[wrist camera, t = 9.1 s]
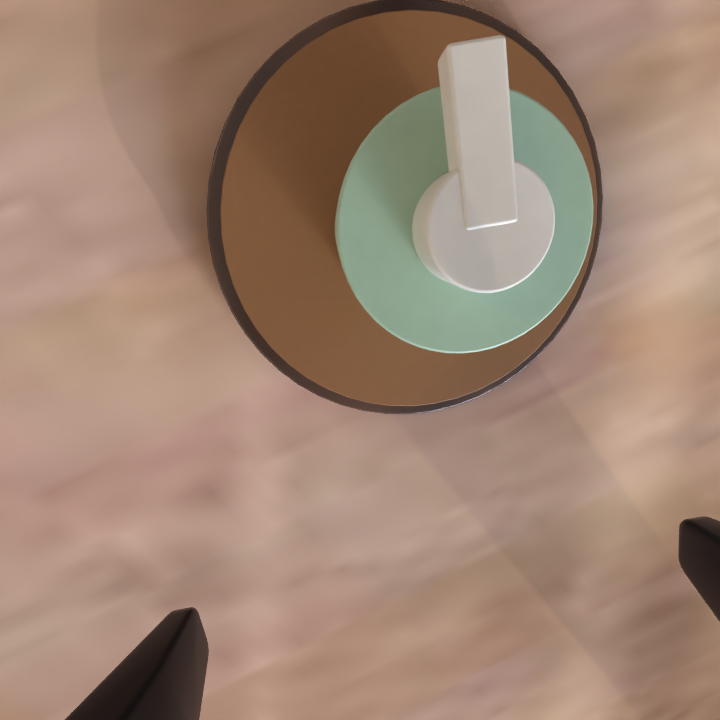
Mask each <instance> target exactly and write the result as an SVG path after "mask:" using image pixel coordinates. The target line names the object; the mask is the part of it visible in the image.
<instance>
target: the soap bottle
mask: <svg viewBox="0 0 720 720" xmlns="http://www.w3.org/2000/svg"><path fill="white" fill-rule="evenodd" d="M220 211H221V233H222V241H223V247H224V253H225V258H226V263H227V266H228V269H229V273H230V276H231V279H232V282H233V286H234V288H235V290H236V292H237V295H238V297H239V299H240V301H241V303H242V306H243V308H244V310H245V311H246V313H247V315H248V316H249V318H250V319H251V321H252V323H253V324H254V326H255V328H256V329H257V330H258V332H259V333H260V334H261V335H262V337H263V338H264V339H265V340H266V342H267V343H268V344H269V345H270V347H271V348H272V349H273V350H274V351H275V352H276V353H277V354H278V355H280V356H281V357H282V358H283V359H284V360H285V361H286V362H287V363H288V364H289V365H290V366H292V367H293V368H294V369H296V370H297V371H298V372H300V373H301V374H303V375H304V376H305V377H307V378H308V379H310V380H312V381H314V382H315V383H317V384H319V385H321V386H323V387H324V388H326V389H328V390H331V391H333V392H336V393H338V394H341V395H343V396H346V397H348V398H352V399H356V400H360V401H364V402H367V403H373V404H381V405H388V406H418V405H427V404H435V403H439V402H444V401H448V400H452V399H456V398H459V397H462V396H464V395H467V394H470V393H472V392H475V391H478V390H480V389H482V388H484V387H485V386H487V385H489V384H491V383H493V382H495V381H497V380H499V379H500V378H502V377H503V376H505V375H506V374H508V373H509V372H511V371H512V370H514V369H515V368H517V367H518V366H519V365H520V364H521V363H522V362H524V361H525V360H526V359H527V358H528V357H529V356H531V355H532V354H533V353H534V352H535V351H536V350H537V349H538V348H539V347H540V346H541V344H542V343H543V342H544V341H545V340H546V339H547V338H548V337H549V336H550V335H551V333H552V332H553V330H554V329H555V328H556V326H557V325H558V324H559V322H560V321H561V319H562V318H563V317H564V315H565V313H566V312H567V310H568V308H569V306H570V304H571V303H572V301H573V299H574V297H575V296H576V293H577V291H578V289H579V286H580V284H581V281H582V279H583V277H584V274H585V272H586V268H587V265H588V261H589V258H590V254H591V251H592V247H593V240H594V234H595V228H596V217H597V189H596V177H595V169H594V165H593V160H592V156H591V151H590V146H589V144H588V141H587V138H586V135H585V132H584V129H583V127H582V124H581V121H580V119H579V117H578V115H577V114H576V112H575V110H574V108H573V106H572V104H571V102H570V100H569V98H568V97H567V95H566V94H565V92H564V91H563V90H562V88H561V87H560V85H559V84H558V82H557V81H556V80H555V78H554V77H553V76H552V75H551V74H550V72H549V71H548V70H547V69H546V68H545V67H544V66H543V65H542V64H541V63H540V62H539V61H538V60H537V59H536V58H535V57H534V56H533V55H532V54H530V53H529V52H528V51H527V50H525V49H524V48H523V47H522V46H520V45H519V44H518V43H517V42H515V41H514V40H512V39H511V38H509V37H507V36H505V35H504V34H502V33H500V32H498V31H497V30H495V29H493V28H491V27H489V26H487V25H484V24H481V23H479V22H476V21H474V20H471V19H469V18H466V17H462V16H457V15H453V14H448V13H444V12H439V11H423V10H404V11H392V12H383V13H379V14H375V15H371V16H367V17H363V18H359V19H356V20H353V21H351V22H349V23H346V24H344V25H341V26H339V27H336V28H334V29H332V30H330V31H328V32H327V33H325V34H323V35H322V36H320V37H318V38H317V39H315V40H313V41H311V42H310V43H308V44H307V45H306V46H304V47H303V48H302V49H301V50H299V51H298V52H297V53H296V54H294V55H293V56H292V57H291V58H290V59H288V60H287V61H286V62H285V63H284V64H283V65H282V66H281V67H280V68H279V69H278V70H277V72H276V73H275V74H274V75H273V76H272V77H271V78H270V79H269V80H268V81H267V82H266V84H265V85H264V87H263V88H262V89H261V91H260V92H259V94H258V95H257V97H256V98H255V100H254V101H253V102H252V104H251V105H250V107H249V109H248V111H247V113H246V115H245V117H244V119H243V121H242V123H241V125H240V127H239V129H238V131H237V133H236V136H235V139H234V142H233V145H232V148H231V150H230V153H229V156H228V160H227V165H226V170H225V174H224V179H223V185H222V197H221V209H220Z"/></svg>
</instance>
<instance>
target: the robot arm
mask: <svg viewBox="0 0 720 720" xmlns="http://www.w3.org/2000/svg"><path fill="white" fill-rule="evenodd" d="M679 562H680V565H681V567H682V569H683V571H684V572H685V574H686V575H687V577H688V578H689V580H690V581H691V582H692V584H693V585H694V587H695V588H696V589H697V591H698V592H699V593H700V595H701V596H702V598H703V599H704V600H705V602H706V603H707V605H708V606H709V607H710V609H711V610H712V612H713V613H714V614H715V616H716V617H717V619H718V620H719V621H720V521H718V520H715V519H712V518H709V517H696V518H690V519H685V520H683V521H682V522H681V524H680V527H679ZM208 652H209V650H208V642H207V638H206V635H205V632H204V629H203V626H202V622H201V619H200V616H199V613H198V611H197V610H196V609H195V608H193V607H190V608H185V609H179V610H175V611H172V612H171V613H170V614H168V615H167V616H166V617H165V618H164V619H163V620H162V621H161V622H160V623H159V625H158V626H157V627H156V628H155V629H154V630H153V631H152V632H151V633H150V634H149V635H148V636H147V637H146V638H145V639H144V640H143V641H142V642H141V643H140V644H139V645H138V646H137V647H136V648H135V649H134V650H133V651H132V652H131V653H130V654H129V655H128V656H127V657H126V658H125V659H124V660H123V661H122V662H121V663H120V664H119V665H118V666H117V667H116V668H115V669H114V670H113V671H112V672H111V673H110V674H109V675H108V676H107V677H106V678H105V679H104V680H103V681H102V682H101V683H100V684H99V685H98V687H97V688H96V689H95V690H94V691H93V692H92V693H91V694H90V695H89V696H88V697H87V698H86V699H85V700H84V701H83V702H82V703H81V704H80V705H79V706H78V707H77V708H76V709H75V710H74V711H73V712H72V713H71V714H70V715H69V716H68V717H67V718H66V719H65V720H199V717H200V710H201V703H202V696H203V689H204V683H205V676H206V669H207V662H208Z"/></svg>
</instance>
